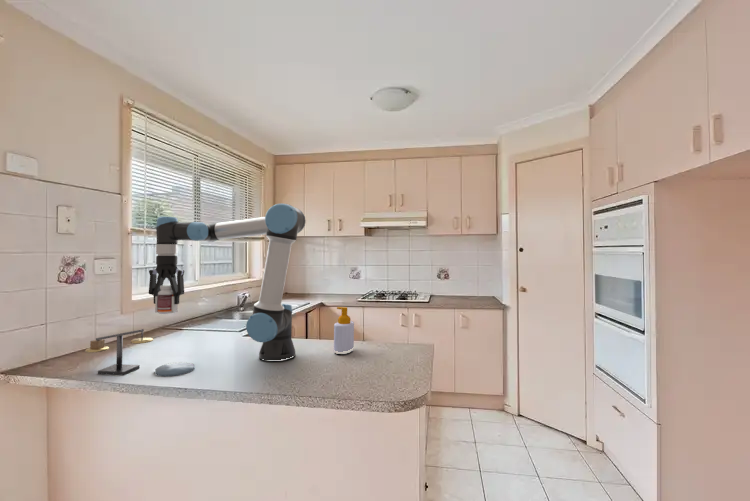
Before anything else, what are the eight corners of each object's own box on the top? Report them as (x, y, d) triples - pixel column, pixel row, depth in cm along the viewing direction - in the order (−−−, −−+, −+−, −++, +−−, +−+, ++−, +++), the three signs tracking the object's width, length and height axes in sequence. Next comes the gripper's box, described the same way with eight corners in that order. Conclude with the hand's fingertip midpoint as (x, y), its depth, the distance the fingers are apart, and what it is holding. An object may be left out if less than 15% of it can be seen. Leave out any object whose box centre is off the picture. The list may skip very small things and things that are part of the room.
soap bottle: (341, 347, 177) (341, 305, 177) (357, 349, 175) (357, 306, 175) (329, 354, 165) (330, 309, 165) (346, 356, 162) (347, 310, 162)
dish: (201, 365, 146) (201, 362, 146) (181, 377, 133) (181, 373, 133) (169, 364, 147) (169, 361, 147) (147, 375, 134) (147, 372, 134)
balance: (157, 368, 142) (158, 327, 142) (142, 375, 134) (143, 331, 134) (97, 366, 143) (97, 325, 143) (79, 373, 135) (79, 329, 135)
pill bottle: (175, 313, 149) (176, 285, 149) (158, 314, 145) (158, 286, 145) (174, 311, 154) (174, 284, 154) (157, 312, 151) (157, 285, 151)
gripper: (194, 255, 153) (194, 311, 153) (150, 254, 154) (150, 310, 154) (184, 255, 145) (183, 314, 145) (137, 254, 147) (137, 313, 147)
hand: (166, 312), depth 150 cm, fingers closed on pill bottle, 6 cm apart
